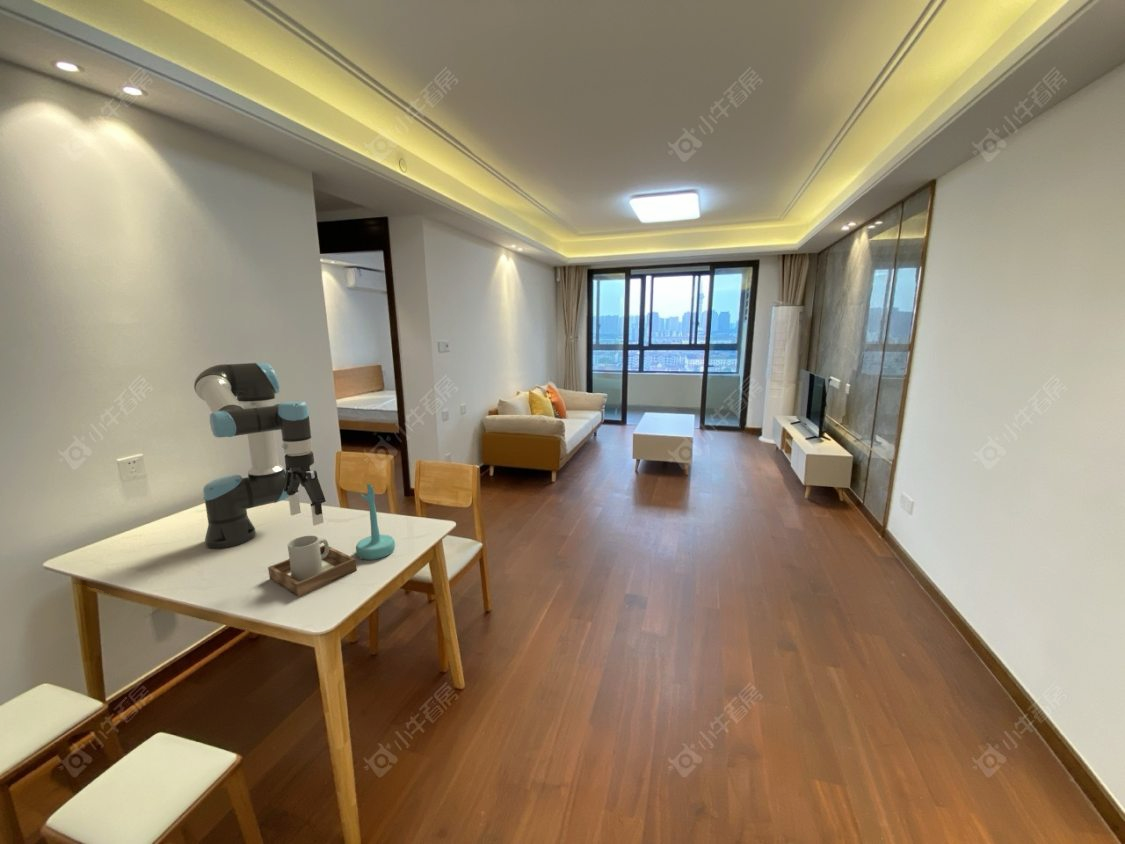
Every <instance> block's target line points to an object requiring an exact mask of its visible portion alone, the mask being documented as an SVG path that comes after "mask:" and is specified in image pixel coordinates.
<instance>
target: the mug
mask: <svg viewBox="0 0 1125 844" xmlns="http://www.w3.org/2000/svg"><path fill="white" fill-rule="evenodd" d="M322 544H323V545H325V551H324V553H323V554H321V553H320V547H321V545H322ZM329 547H330V545H329V541H328V540H327V539H326V538H322V537H321V538H320V537H319V536H316V535H304V536H300V537H297V538H294V539H291V540H290V541H289V542H288V543H287V552H288V558H289V560H290V567H291V576H292V578H293V579H295V580H296V581H303V580H305V579H308V578H310V577H312V576H314V575H317V574H319V573H321V572H322V570H323V568H322V559H324V558H325V557H326V556H327V555H328V553H329Z"/></svg>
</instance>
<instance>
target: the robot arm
mask: <svg viewBox="0 0 1125 844" xmlns="http://www.w3.org/2000/svg"><path fill="white" fill-rule="evenodd" d="M193 387H194V392H195V393H196V395H197V396H198V397H199V399H201V400H202V401H204V402H205V403H206V405H207V407H208V408H209V409H210V411H211V413H210V414H209V423H210V429H211V433H212V435H213V436H214V437H215V438H227V437H228V438H233V437H236V436H244V435H247V440H248V449H249V455H250V461H251V468H250V469H249V470H247V475H248V477H244V478H243V477H242V476H241V475H240V474H233V475H226V476H223V477H219V478H216V479H214V480H211V481H209V482H208V483H207V484H205V485H204V487H203V498H202V499H203V501H204V505H205V510H206V517H207V523H208V524H207V529H206V534H205V539H204V543H205V546H206V548H209V549H215V550H216V549H225V548H231V547H235V546H238V545H239V546H240V545H242V544H244V543H247V542H249V541H251V540H252V539H254V538H255V536H257V531H256V528H255V526H254V524H253V523H252V521H251V519H250V518H249V516H248V512H247V511H248V509H252V508H257V507H262V506H266V505H270V504H276V503H278V502H282V501H285V500H287V499H288V504H289V511H290V516H295V515H299V514H301V513H302V511H301V510H302V509H301V505H300V504H301V503H300V496H299V492H300V491H299V487H300V486H301V487H302V488H304V489H305V491H306V494H307V495H308V498H309V500H310V502H311V503H310V509H311V517H312V524H313V525H312V526H314V527H316V526H318V525H320V524H324V522H325V521H324V516H323V515H324V513H323V505H322V504H323V503H325V502H326V501H327V500H326V497H325V495H324V491H323V490H322V486H321V484H320V481H319V478H318V473H317V470H311V466H313V465H314V463H315V459H314V458H315V457H314V452H313V449H314V448H313V446H314V445H313V440H312V439H313V438H312V433H311V422H310V411H309V407H308V404H307V402H305V401H304V400H301V401H300V400H291V401H290V400H288V401H283V402H281V403H276V404H274V405H272V403H273V402H274V401H275V399H276V395H277V394H278V393H280V382H279V379H278V376H277V373H276V372H275V370H274V368H273V366H272V365H271V364H269V363H267V362H248V363H233V364H232V363H231V364H218V365H213V366H210V367H208V368H206V369H204V370H203V371H201V372H200V373H199V374H198V376H196V378H195V381H194V384H193ZM280 430H281V441H282V445H281V448H282V449H283V454H285V455H284V464H285V467H284V466H283V465H281V464H280V463H279V457H278V456H279V455H278V448H277V447H278V446H277V442H276V441H277V440H276V432H275V431H280Z"/></svg>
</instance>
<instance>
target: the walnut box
mask: <svg viewBox="0 0 1125 844" xmlns="http://www.w3.org/2000/svg"><path fill="white" fill-rule="evenodd" d="M324 551H325V545H324V544H323V545H320V553H321V554H323V553H324ZM322 568H323V570H322V572H321V573H319V574H317V575H314V576H312V577H310V578H308V579H305V580H303V581H296V580H295V579H293V578H292V576H291V567H290V560H289V559H285V560H283V561H281V562H278V563H275V564H272V565H271V566H268V567H267V569H268V570H267V571H268V577H269V580H271V581H272V582H273V583H276V584H278V585H279V586H280V587H282V588H283V589H285V590H286V591H288V592H290V593H292V594H293V595H294V596H296V597H297V598H301V597H303V596H304V595H306V594H307V595H308V594H310V593H312V592H314V591H315V590H318V589H320V588H322V587H324V586H326V585H329V584H331V583H333V582H335V581H338V580H339V579H342V578H343V577H346V576H348V575H350V574H352V573H355V572H356V571H357V559H356V558H355V557H352V556H351V555H348V554H346V553H344V552H341V550H340V551H339V550H338V549H335V548H334V547H331V546H329V553H328V555H327V556H326V557H325V558H324V559H322ZM357 572H358V571H357Z"/></svg>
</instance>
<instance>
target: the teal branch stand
mask: <svg viewBox="0 0 1125 844" xmlns="http://www.w3.org/2000/svg"><path fill="white" fill-rule="evenodd" d="M366 487H367V489H366V490H367V494H366V495H364V494H362V493H360V494H359V495H360V496H361V497H362V498H363V500H365V501H366V502H368V505H369V519H370V533H371V534H370V536H366V537H365V538H362V539H360V540H359V541H357V543H356V546H355V552H356V555H357V557H358V558H360V559H362V560H366V561H371V560H372V561H373V560H379V559H383V558H385V557H387V556H389V555H391V554H392V553H393V552H394V550H395V547H396V546H395V545H396V542H395V539H394V538H393V536H391V535H389V534H380V529H379V526H378V525H379V524H378V515H377V509H376V504H375V492H374V487H373V486H372V484H370V483H369V482H368V483H366Z"/></svg>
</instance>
